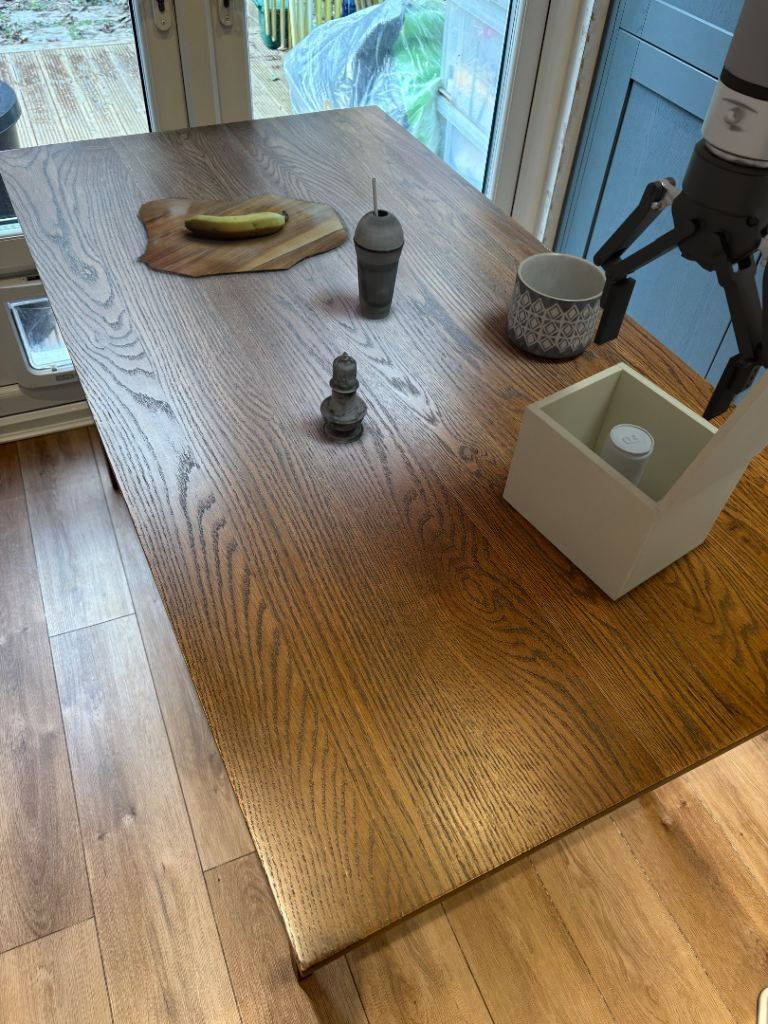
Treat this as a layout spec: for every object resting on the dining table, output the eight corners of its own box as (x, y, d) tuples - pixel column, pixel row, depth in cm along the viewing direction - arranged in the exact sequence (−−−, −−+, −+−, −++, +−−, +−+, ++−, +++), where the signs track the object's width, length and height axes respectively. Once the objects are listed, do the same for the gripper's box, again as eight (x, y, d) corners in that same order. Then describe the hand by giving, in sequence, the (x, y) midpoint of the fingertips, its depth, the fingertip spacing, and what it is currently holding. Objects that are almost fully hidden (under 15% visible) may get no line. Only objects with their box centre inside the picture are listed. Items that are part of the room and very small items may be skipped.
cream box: (502, 497, 89) (525, 406, 79) (589, 451, 96) (622, 361, 85) (614, 601, 80) (657, 513, 69) (703, 542, 86) (754, 454, 76)
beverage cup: (390, 329, 111) (399, 196, 96) (344, 318, 112) (346, 185, 98) (404, 304, 116) (416, 174, 101) (360, 293, 117) (365, 164, 102)
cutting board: (139, 283, 115) (134, 260, 112) (132, 202, 133) (128, 180, 130) (360, 265, 123) (361, 243, 120) (326, 190, 140) (326, 169, 137)
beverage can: (629, 524, 86) (665, 447, 77) (594, 535, 85) (626, 458, 76) (605, 495, 89) (637, 418, 80) (571, 506, 87) (599, 428, 79)
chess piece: (356, 450, 93) (359, 372, 84) (312, 437, 94) (311, 359, 85) (372, 421, 97) (377, 344, 88) (330, 409, 98) (331, 332, 89)
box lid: (775, 358, 54) (784, 365, 53) (885, 300, 60) (893, 306, 60) (655, 506, 69) (662, 513, 69) (753, 448, 76) (759, 453, 75)
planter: (494, 350, 109) (507, 286, 101) (516, 306, 117) (530, 244, 109) (579, 373, 106) (599, 310, 99) (596, 327, 115) (615, 265, 107)
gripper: (593, 101, 62) (539, 323, 77) (873, 228, 49) (740, 465, 64) (653, 87, 65) (590, 303, 81) (931, 203, 52) (791, 434, 67)
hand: (656, 375), depth 72 cm, fingers open, 13 cm apart
